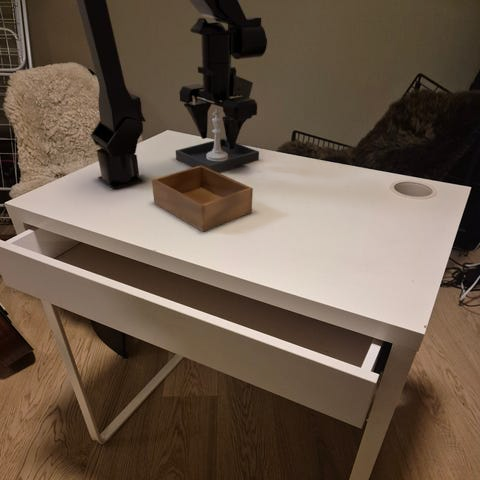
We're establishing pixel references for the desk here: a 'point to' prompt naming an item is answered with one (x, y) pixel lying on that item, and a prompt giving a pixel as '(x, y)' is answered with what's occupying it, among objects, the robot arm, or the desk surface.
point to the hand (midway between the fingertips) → (217, 143)
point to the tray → (235, 159)
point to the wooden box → (202, 197)
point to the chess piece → (217, 141)
